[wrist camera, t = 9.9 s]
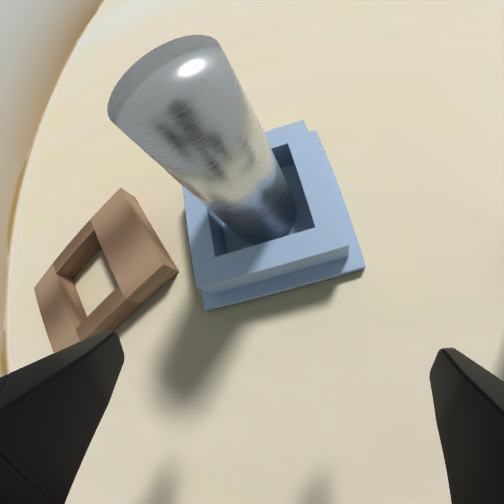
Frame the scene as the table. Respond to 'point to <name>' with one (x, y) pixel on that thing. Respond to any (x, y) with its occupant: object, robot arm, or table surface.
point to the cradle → (282, 249)
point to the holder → (121, 263)
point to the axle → (205, 135)
